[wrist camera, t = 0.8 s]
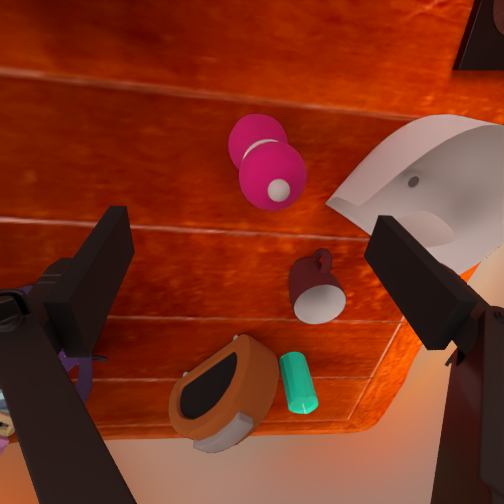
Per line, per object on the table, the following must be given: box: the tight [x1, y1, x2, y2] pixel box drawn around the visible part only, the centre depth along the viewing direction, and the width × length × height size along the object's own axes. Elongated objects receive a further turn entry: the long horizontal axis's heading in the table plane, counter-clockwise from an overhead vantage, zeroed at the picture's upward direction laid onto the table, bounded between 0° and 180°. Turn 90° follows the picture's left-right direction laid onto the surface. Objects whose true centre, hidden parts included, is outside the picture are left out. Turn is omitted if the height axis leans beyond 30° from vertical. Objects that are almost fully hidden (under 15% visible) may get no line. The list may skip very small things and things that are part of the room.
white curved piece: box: [325, 115, 504, 275], centre depth 40 cm, size 20×19×12 cm
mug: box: [289, 248, 346, 324], centre depth 47 cm, size 10×8×10 cm
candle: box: [279, 352, 318, 414], centre depth 61 cm, size 6×6×12 cm
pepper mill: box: [228, 114, 306, 211], centre depth 31 cm, size 7×7×20 cm
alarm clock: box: [168, 334, 279, 453], centre depth 57 cm, size 23×9×17 cm, turn 133°
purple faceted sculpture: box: [0, 285, 109, 455], centre depth 42 cm, size 22×21×25 cm
